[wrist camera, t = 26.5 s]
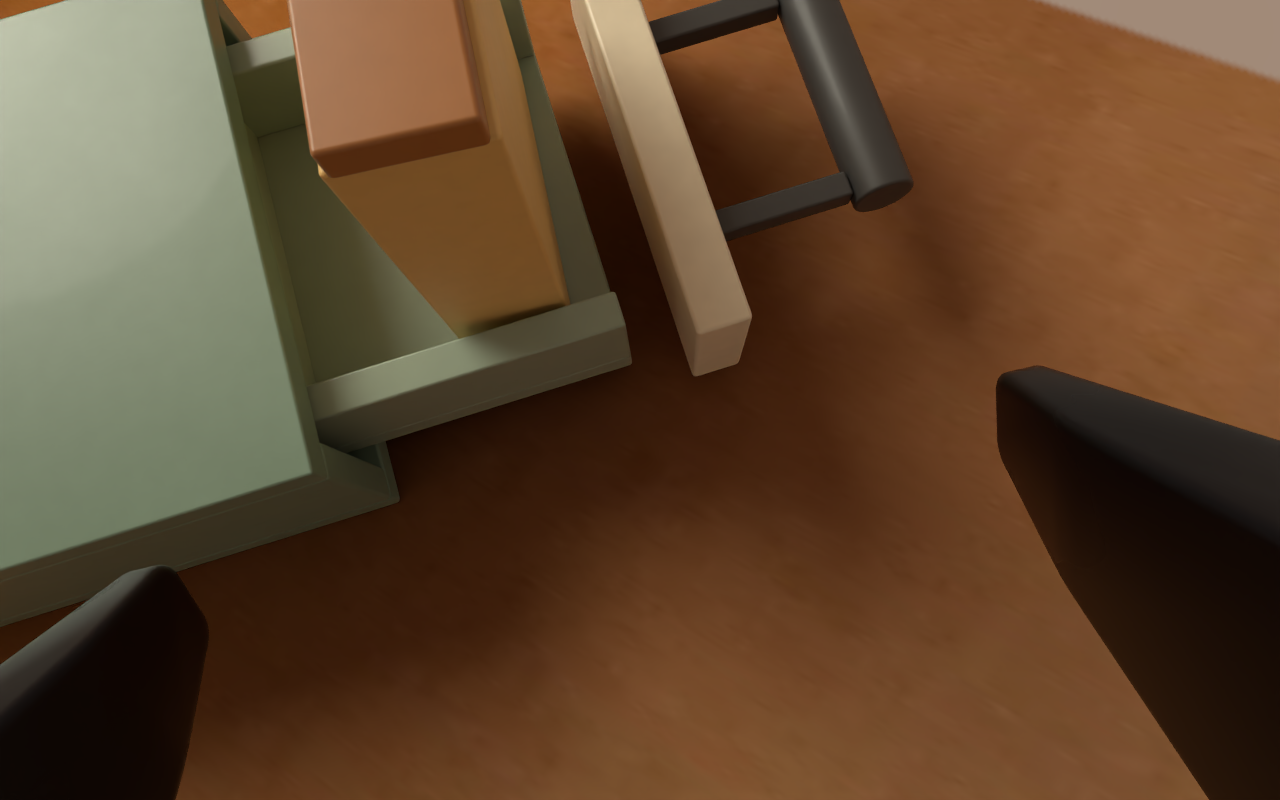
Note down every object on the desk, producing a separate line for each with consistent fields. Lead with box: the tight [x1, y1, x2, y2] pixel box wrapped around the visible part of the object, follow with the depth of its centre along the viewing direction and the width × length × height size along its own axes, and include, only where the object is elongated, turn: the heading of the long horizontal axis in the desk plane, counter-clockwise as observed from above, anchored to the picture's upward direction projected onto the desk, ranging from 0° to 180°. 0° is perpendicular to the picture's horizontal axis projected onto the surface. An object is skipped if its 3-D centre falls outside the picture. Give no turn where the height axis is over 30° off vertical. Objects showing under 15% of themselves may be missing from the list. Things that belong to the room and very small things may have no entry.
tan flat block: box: [287, 0, 571, 339], centre depth 17 cm, size 7×2×10 cm, turn 12°
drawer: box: [226, 0, 913, 453], centre depth 21 cm, size 15×10×4 cm
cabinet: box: [0, 0, 400, 627], centre depth 20 cm, size 12×12×6 cm
